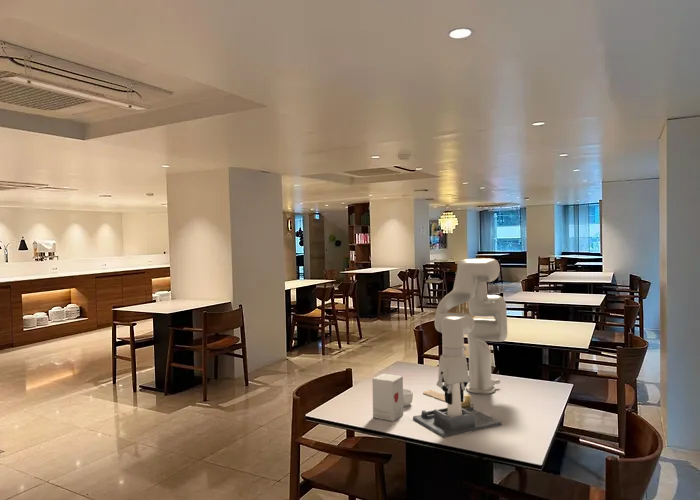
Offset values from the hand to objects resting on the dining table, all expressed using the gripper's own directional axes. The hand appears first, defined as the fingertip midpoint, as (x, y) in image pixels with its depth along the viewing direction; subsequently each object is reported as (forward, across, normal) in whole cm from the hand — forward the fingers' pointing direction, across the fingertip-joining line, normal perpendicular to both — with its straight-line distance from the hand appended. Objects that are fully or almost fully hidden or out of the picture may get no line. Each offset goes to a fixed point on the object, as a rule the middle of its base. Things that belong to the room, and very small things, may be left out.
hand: (454, 401), depth 175 cm
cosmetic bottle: (+8, 0, 0) cm, 8 cm away
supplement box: (+9, +16, -20) cm, 27 cm away
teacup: (+9, +4, -30) cm, 31 cm away
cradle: (+9, -3, -3) cm, 10 cm away
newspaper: (+10, -16, -26) cm, 32 cm away
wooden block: (+8, -10, -10) cm, 16 cm away
